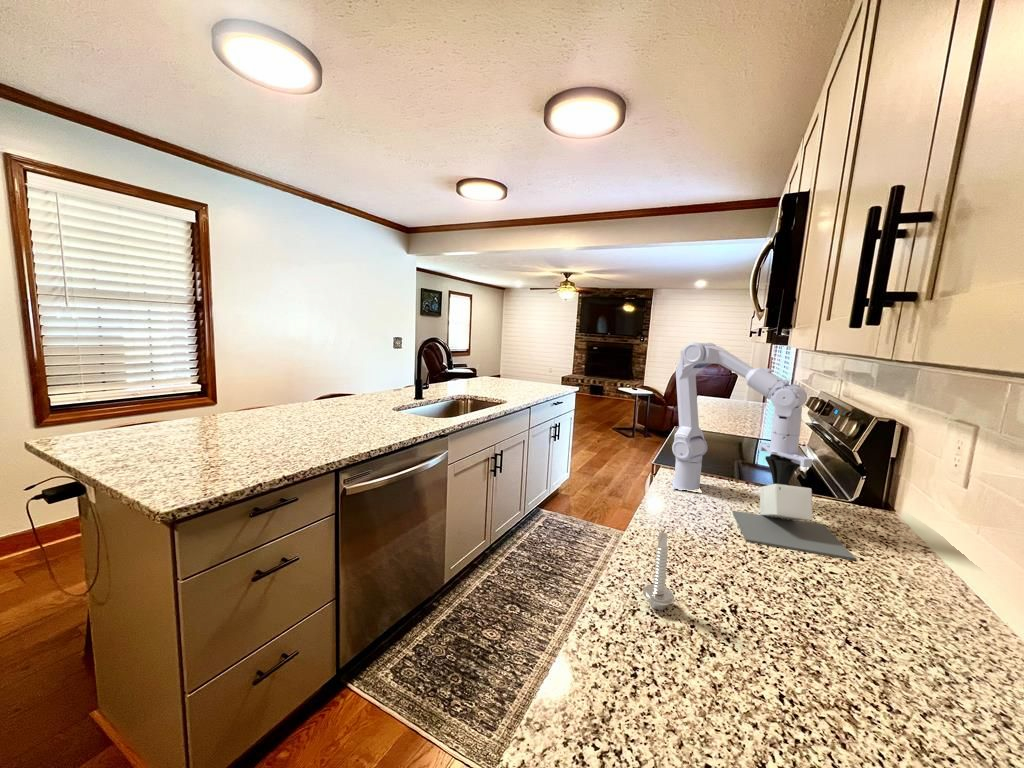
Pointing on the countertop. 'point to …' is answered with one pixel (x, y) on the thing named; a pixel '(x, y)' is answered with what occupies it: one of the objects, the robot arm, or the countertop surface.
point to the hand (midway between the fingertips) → (780, 485)
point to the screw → (659, 578)
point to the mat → (790, 534)
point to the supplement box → (786, 502)
